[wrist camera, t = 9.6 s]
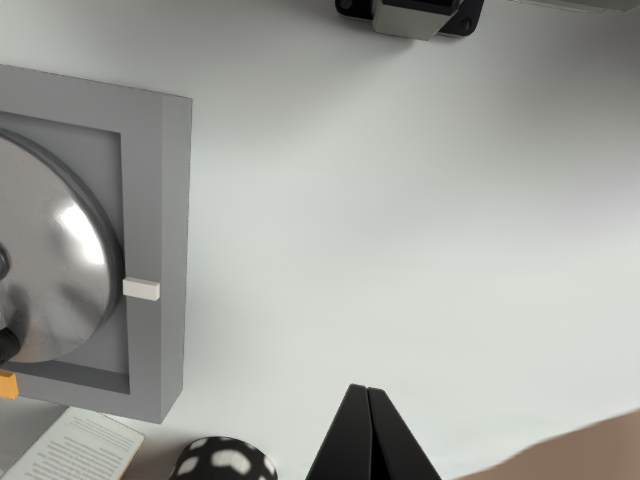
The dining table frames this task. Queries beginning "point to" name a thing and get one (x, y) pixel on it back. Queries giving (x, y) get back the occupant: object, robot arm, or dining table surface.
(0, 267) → the dial
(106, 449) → the small box
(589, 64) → the dining table surface
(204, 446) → the spotted tube
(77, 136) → the grey square tray
